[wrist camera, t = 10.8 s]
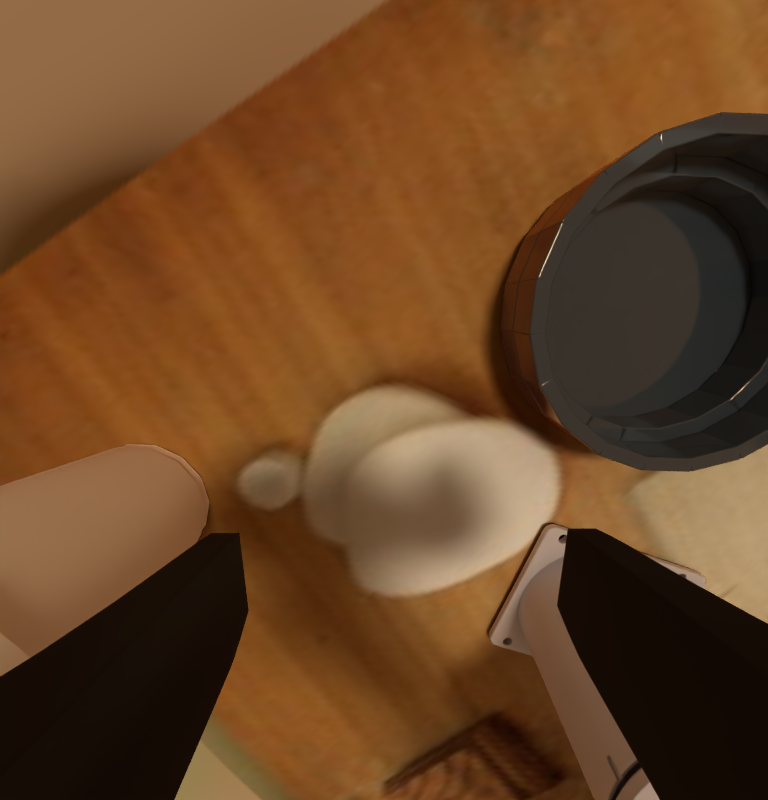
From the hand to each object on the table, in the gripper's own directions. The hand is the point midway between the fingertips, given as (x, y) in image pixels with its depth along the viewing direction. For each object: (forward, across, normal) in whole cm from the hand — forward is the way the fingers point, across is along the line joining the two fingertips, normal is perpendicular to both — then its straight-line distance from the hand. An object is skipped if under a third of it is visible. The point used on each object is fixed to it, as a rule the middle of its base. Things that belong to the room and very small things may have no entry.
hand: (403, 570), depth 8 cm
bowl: (+10, -11, -5) cm, 16 cm away
